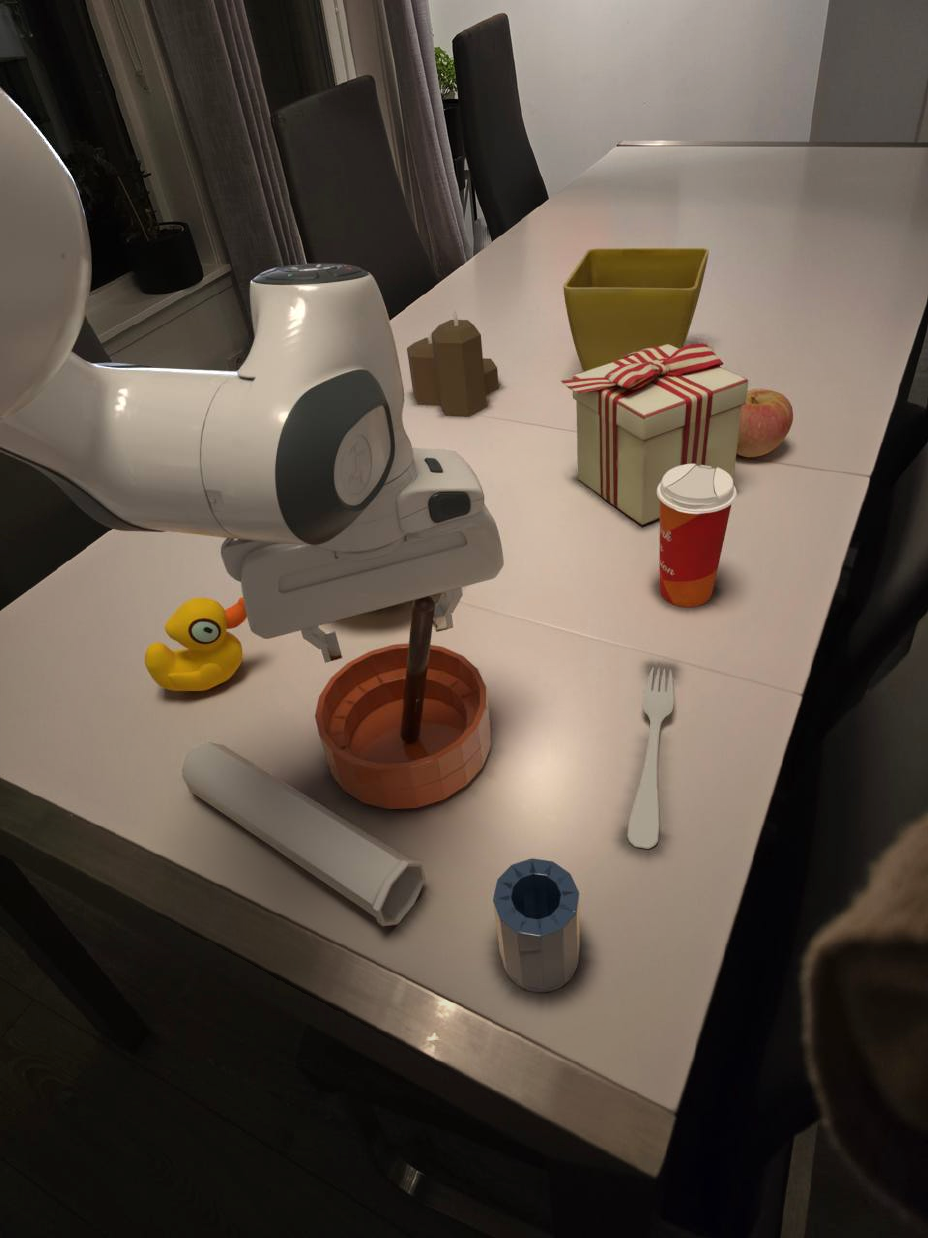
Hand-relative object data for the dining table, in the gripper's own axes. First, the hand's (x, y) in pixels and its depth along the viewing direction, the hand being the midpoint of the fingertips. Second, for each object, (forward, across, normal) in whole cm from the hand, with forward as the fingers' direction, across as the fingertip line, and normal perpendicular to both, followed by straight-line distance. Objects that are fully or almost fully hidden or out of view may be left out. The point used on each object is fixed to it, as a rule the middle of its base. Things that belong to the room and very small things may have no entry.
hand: (388, 640), depth 67 cm
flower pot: (+13, +54, +64) cm, 85 cm away
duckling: (+13, -17, +17) cm, 28 cm away
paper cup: (+13, +34, +10) cm, 38 cm away
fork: (+13, +20, -9) cm, 26 cm away
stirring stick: (+13, 0, 0) cm, 13 cm away
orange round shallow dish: (+13, 0, 0) cm, 13 cm away
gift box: (+13, +40, +32) cm, 53 cm away
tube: (+13, -12, -6) cm, 19 cm away
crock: (+13, +4, -23) cm, 27 cm away
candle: (+13, +26, +68) cm, 74 cm away
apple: (+13, +57, +33) cm, 67 cm away
